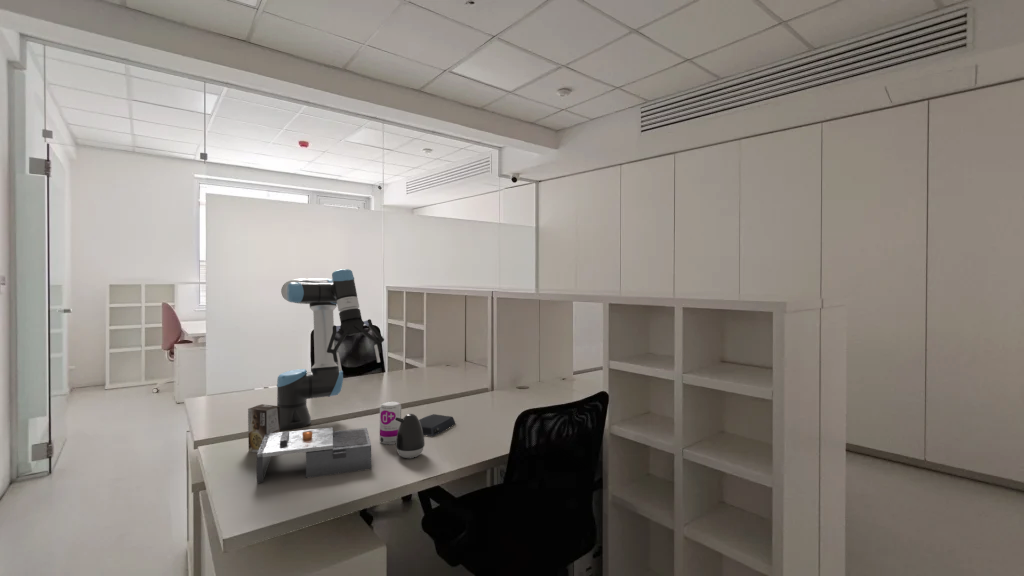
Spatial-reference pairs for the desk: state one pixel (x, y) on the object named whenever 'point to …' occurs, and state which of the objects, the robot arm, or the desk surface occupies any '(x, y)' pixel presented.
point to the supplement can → (389, 421)
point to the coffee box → (262, 424)
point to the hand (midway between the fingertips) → (360, 366)
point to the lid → (291, 445)
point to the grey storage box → (341, 454)
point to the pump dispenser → (409, 437)
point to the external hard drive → (436, 424)
